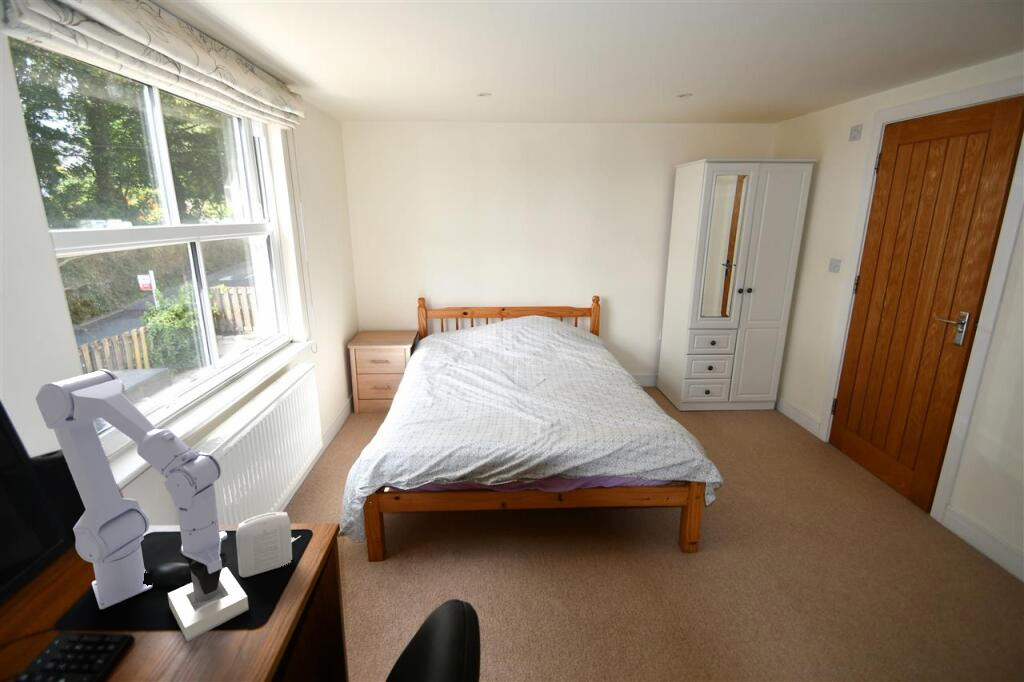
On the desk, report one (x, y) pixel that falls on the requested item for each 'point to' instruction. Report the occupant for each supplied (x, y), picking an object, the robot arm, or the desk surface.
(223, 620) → the housing
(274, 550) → the photo printer
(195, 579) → the grey peg
